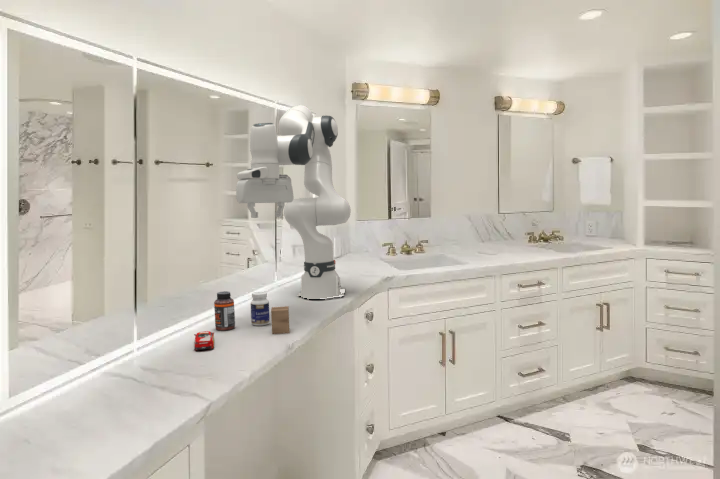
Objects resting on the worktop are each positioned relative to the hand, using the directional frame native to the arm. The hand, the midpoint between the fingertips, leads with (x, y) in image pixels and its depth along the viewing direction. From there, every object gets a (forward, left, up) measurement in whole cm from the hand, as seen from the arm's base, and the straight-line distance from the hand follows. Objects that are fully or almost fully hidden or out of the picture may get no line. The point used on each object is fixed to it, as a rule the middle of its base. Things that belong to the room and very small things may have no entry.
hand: (266, 217), depth 171 cm
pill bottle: (+5, -2, -34) cm, 34 cm away
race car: (+29, -8, -34) cm, 45 cm away
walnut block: (+13, +8, -34) cm, 37 cm away
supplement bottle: (+12, -10, -34) cm, 37 cm away
